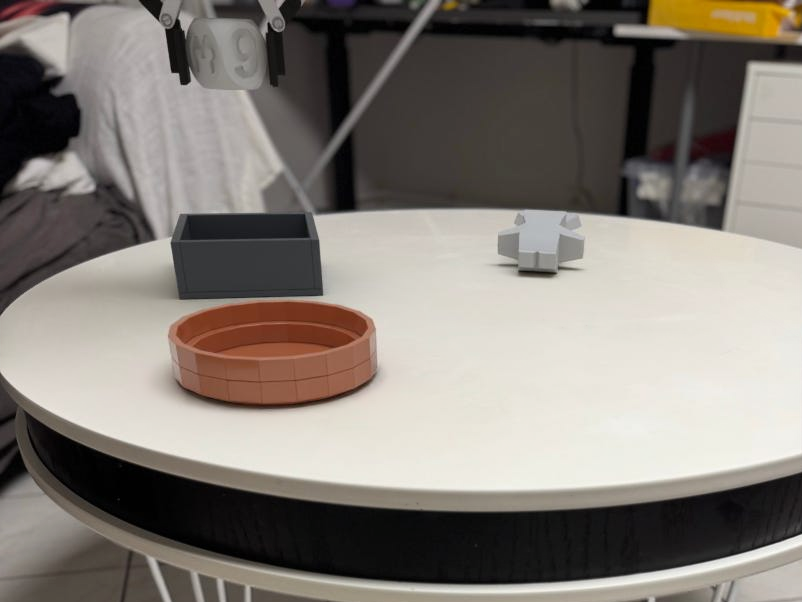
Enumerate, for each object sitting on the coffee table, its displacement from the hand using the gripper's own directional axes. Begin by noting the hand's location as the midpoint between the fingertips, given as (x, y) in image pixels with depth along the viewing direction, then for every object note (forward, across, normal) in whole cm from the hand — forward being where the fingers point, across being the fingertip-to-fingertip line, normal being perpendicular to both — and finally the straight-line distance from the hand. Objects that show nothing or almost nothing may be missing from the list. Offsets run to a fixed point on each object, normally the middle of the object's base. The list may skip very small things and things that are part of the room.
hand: (230, 82), depth 79 cm
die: (+1, 0, 0) cm, 1 cm away
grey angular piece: (+18, +32, +10) cm, 38 cm away
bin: (+18, 0, +5) cm, 18 cm away
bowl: (+18, +2, -24) cm, 30 cm away
